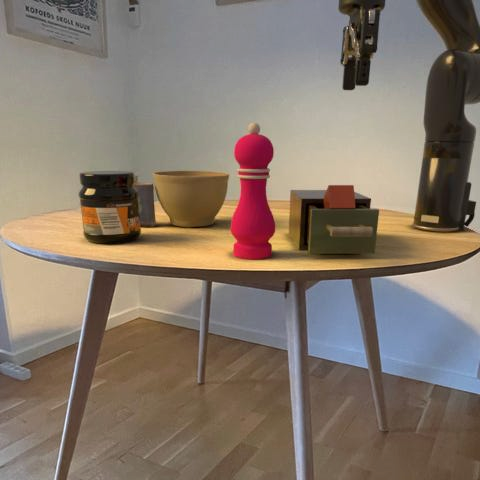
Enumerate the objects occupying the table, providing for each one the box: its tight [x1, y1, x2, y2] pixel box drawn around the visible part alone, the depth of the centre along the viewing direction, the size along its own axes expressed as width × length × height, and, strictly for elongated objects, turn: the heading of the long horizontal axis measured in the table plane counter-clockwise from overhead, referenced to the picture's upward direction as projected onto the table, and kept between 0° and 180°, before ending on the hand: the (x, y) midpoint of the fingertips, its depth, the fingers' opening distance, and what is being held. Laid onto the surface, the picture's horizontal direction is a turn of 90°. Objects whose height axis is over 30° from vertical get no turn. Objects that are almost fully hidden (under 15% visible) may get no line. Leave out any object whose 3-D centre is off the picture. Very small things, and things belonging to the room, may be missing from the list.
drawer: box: [304, 203, 380, 255], centre depth 76 cm, size 17×10×7 cm, turn 2°
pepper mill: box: [229, 122, 276, 260], centre depth 73 cm, size 7×7×20 cm
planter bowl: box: [152, 170, 230, 228], centre depth 101 cm, size 16×16×11 cm
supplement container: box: [78, 170, 142, 245], centre depth 86 cm, size 10×10×12 cm
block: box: [324, 184, 356, 209], centre depth 75 cm, size 4×4×4 cm
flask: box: [134, 173, 157, 228], centre depth 100 cm, size 9×3×11 cm, turn 61°
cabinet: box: [288, 189, 372, 251], centre depth 85 cm, size 14×12×9 cm
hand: (354, 88), depth 82 cm, fingers open, 8 cm apart
